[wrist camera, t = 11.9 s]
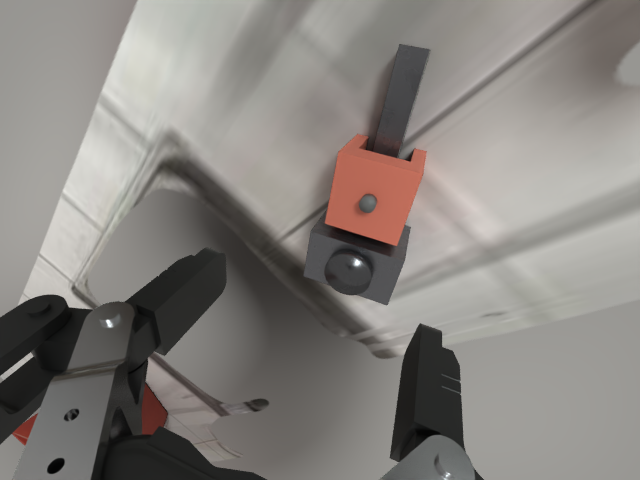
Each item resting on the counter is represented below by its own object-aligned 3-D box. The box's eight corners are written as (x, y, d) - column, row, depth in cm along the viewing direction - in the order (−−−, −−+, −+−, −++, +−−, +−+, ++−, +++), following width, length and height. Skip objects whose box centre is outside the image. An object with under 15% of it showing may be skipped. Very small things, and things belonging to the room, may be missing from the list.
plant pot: (131, 411, 80) (67, 485, 66) (90, 360, 72) (7, 432, 58) (185, 425, 72) (125, 511, 59) (146, 369, 64) (66, 454, 50)
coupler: (363, 37, 23) (338, 31, 17) (473, 58, 21) (485, 58, 16) (323, 244, 33) (299, 282, 28) (395, 267, 32) (385, 313, 26)
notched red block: (357, 134, 27) (335, 154, 21) (426, 151, 25) (422, 177, 20) (343, 196, 30) (321, 227, 24) (404, 213, 29) (395, 251, 23)
